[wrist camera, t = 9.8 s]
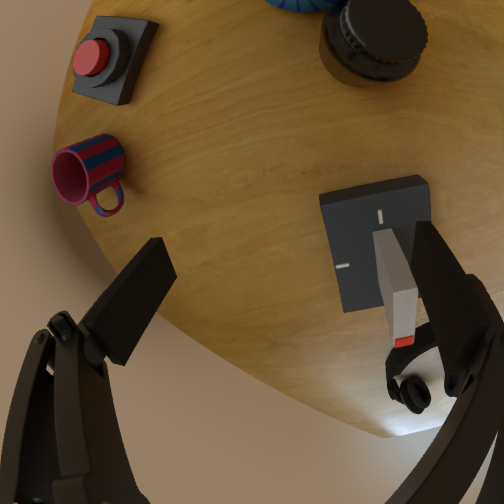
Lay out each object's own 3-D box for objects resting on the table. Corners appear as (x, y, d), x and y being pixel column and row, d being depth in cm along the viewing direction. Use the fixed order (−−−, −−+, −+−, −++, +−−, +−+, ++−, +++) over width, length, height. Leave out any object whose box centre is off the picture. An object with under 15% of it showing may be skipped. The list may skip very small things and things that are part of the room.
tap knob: (372, 231, 24) (393, 295, 17) (391, 227, 24) (419, 289, 16) (378, 282, 27) (393, 349, 20) (395, 279, 27) (414, 345, 19)
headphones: (401, 427, 37) (372, 376, 32) (398, 395, 44) (369, 338, 39) (484, 392, 29) (486, 325, 24) (475, 363, 36) (467, 292, 31)
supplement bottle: (396, 41, 16) (454, 12, 6) (378, 98, 20) (430, 104, 10) (328, 13, 16) (339, -42, 6) (309, 72, 20) (310, 50, 10)
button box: (108, 17, 18) (86, 14, 15) (159, 23, 19) (138, 17, 16) (83, 89, 24) (61, 93, 21) (128, 104, 25) (106, 108, 21)
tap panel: (318, 194, 27) (319, 206, 24) (418, 174, 23) (429, 184, 20) (342, 296, 33) (343, 314, 31) (422, 280, 29) (429, 296, 27)
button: (90, 38, 17) (79, 38, 16) (115, 42, 18) (104, 41, 16) (79, 71, 19) (68, 72, 18) (103, 77, 20) (92, 78, 18)
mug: (107, 123, 26) (68, 136, 21) (148, 188, 30) (115, 212, 24) (80, 153, 29) (44, 171, 23) (117, 212, 33) (86, 237, 27)
